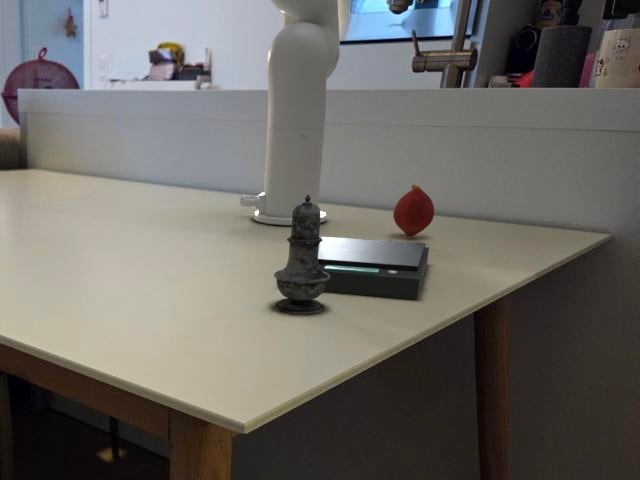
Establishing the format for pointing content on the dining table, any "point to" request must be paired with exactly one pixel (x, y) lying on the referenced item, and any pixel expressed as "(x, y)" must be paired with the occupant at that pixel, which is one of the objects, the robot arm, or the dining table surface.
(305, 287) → the salt shaker
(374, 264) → the scale
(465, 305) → the dining table surface
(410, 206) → the onion
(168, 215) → the dining table surface
